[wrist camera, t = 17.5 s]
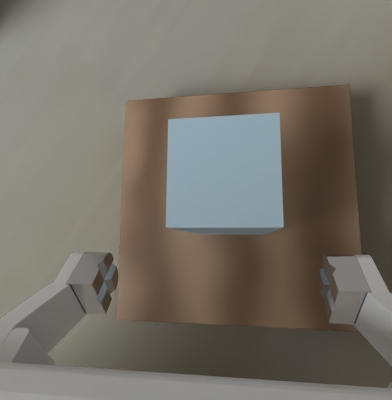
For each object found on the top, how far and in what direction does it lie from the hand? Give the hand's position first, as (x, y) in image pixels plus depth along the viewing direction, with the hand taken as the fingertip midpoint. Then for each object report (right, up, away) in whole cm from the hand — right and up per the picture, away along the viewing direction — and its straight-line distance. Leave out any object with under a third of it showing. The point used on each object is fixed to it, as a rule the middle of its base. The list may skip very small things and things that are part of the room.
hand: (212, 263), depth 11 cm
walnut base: (+3, +2, +15) cm, 15 cm away
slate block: (+2, +2, +11) cm, 12 cm away
